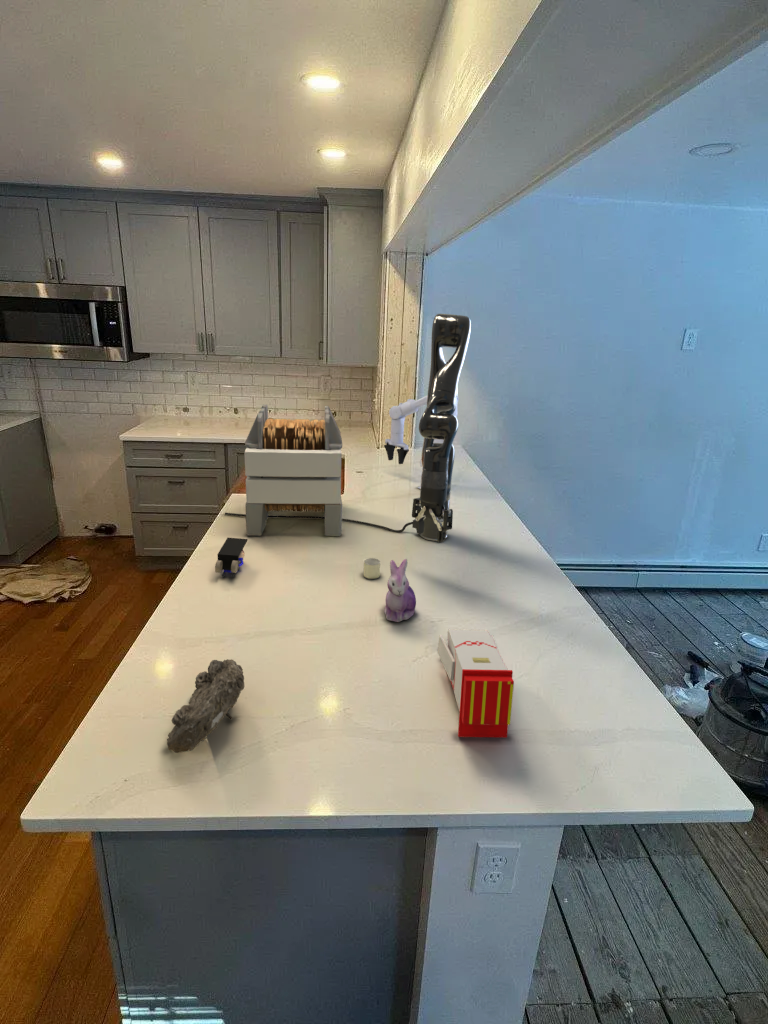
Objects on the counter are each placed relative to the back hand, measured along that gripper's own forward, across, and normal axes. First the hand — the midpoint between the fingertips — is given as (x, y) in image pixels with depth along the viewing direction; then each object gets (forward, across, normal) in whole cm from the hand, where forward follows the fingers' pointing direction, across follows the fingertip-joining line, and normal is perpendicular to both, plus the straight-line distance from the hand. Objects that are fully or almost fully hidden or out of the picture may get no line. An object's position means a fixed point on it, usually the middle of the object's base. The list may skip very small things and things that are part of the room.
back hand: (395, 461), depth 259 cm
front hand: (-4, +83, -53) cm, 99 cm away
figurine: (+9, +96, -74) cm, 122 cm away
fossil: (+9, +106, -129) cm, 167 cm away
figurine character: (+9, +49, -100) cm, 111 cm away
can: (+9, +74, -67) cm, 100 cm away
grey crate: (+9, +22, -64) cm, 68 cm away
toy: (+9, +129, -82) cm, 153 cm away
